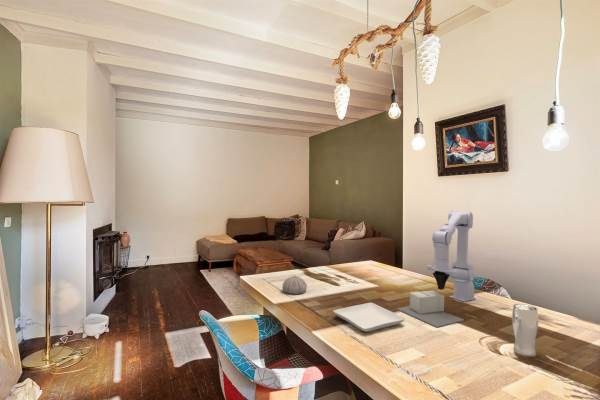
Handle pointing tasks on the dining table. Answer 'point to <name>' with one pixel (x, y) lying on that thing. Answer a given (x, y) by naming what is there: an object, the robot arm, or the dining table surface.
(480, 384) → the dining table surface
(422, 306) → the supplement box
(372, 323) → the salad plate
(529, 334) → the beer glass
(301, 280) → the sea urchin shell
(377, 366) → the dining table surface
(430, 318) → the mat
